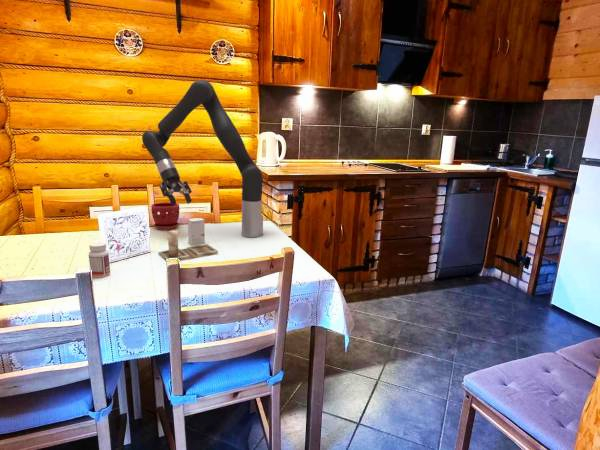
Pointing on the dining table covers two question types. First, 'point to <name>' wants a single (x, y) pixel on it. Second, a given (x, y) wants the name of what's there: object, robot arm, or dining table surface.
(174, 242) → the peg
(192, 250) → the board
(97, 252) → the pill bottle
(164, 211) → the plant pot
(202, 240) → the skincare box
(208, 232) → the dining table surface
